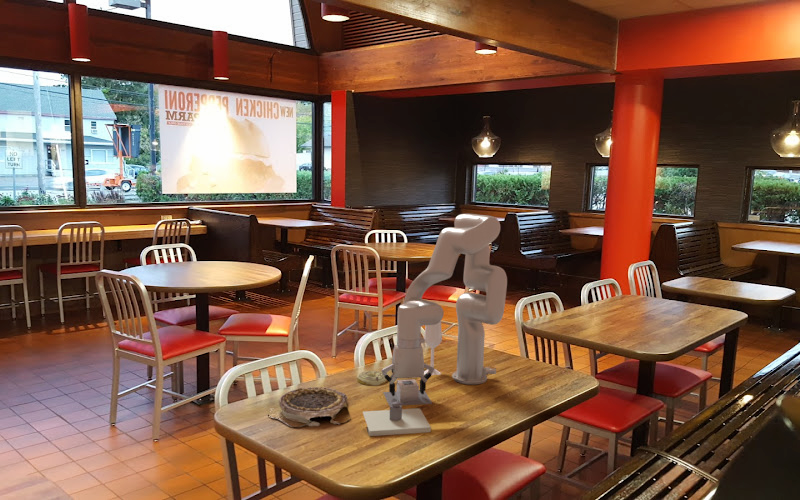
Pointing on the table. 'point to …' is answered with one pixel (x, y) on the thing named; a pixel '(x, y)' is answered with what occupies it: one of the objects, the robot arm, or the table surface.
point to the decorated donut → (371, 378)
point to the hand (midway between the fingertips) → (407, 393)
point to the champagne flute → (433, 341)
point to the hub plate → (396, 421)
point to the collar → (407, 390)
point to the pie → (311, 405)
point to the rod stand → (422, 400)
